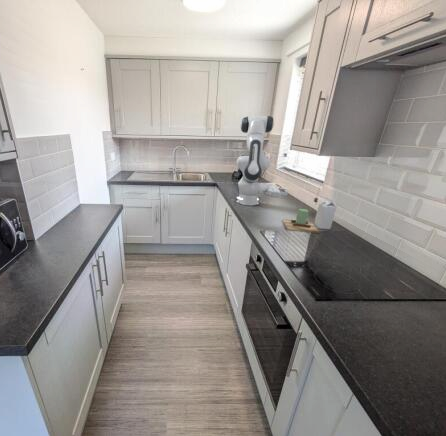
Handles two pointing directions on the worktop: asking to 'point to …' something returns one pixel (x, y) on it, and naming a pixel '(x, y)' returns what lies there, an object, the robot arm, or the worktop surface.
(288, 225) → the base pad
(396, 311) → the worktop surface
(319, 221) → the milk carton
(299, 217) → the back pad
